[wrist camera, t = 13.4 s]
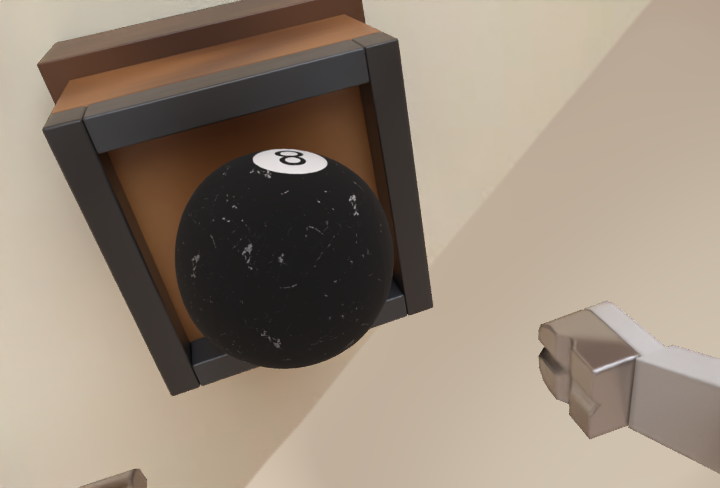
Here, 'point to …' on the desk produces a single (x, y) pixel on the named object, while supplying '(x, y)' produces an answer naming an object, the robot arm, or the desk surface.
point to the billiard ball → (283, 258)
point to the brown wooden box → (225, 142)
